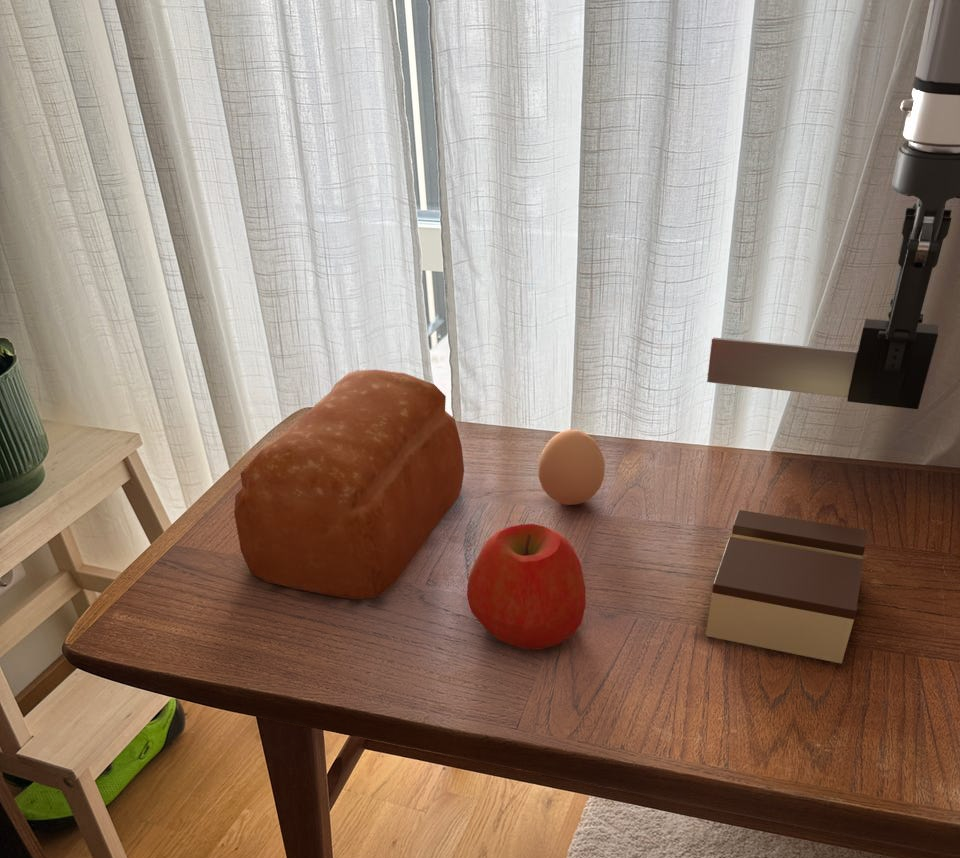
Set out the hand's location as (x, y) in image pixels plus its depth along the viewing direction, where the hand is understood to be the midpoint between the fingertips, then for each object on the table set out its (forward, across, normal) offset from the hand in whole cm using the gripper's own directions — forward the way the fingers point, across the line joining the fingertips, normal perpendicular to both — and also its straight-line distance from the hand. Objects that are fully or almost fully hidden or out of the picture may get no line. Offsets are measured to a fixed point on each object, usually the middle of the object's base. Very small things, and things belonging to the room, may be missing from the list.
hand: (885, 391), depth 96 cm
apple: (+11, +36, -27) cm, 47 cm away
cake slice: (+11, +20, -5) cm, 24 cm away
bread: (+11, +26, -50) cm, 58 cm away
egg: (+11, +13, -30) cm, 35 cm away
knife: (+1, 0, -7) cm, 8 cm away
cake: (+11, +28, -5) cm, 31 cm away
